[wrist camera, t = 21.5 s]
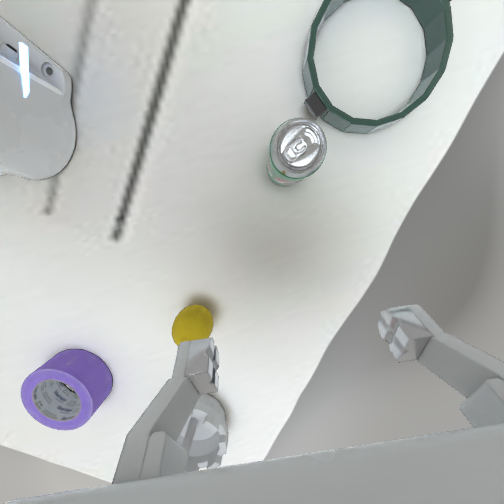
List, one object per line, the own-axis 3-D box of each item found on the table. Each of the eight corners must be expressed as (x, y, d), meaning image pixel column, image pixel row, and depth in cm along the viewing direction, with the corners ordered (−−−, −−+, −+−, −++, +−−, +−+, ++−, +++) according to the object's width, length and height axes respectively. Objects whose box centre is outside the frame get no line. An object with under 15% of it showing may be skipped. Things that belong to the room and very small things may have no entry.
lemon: (216, 296, 35) (204, 324, 27) (218, 327, 36) (206, 362, 28) (182, 296, 35) (160, 323, 27) (185, 326, 36) (164, 361, 29)
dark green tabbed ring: (269, 65, 27) (270, 49, 25) (398, -60, 24) (417, -95, 21) (340, 165, 30) (348, 162, 27) (466, 63, 27) (491, 46, 24)
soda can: (310, 170, 30) (342, 150, 18) (281, 194, 31) (294, 190, 19) (288, 139, 29) (306, 98, 18) (259, 164, 30) (257, 142, 18)
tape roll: (54, 339, 38) (24, 359, 33) (119, 361, 39) (98, 385, 34) (45, 391, 41) (16, 417, 36) (105, 411, 41) (85, 439, 36)
